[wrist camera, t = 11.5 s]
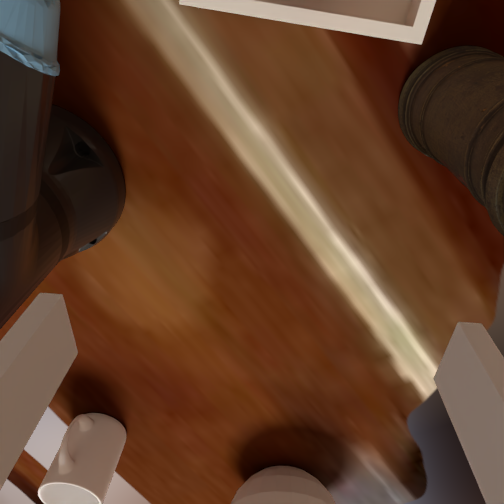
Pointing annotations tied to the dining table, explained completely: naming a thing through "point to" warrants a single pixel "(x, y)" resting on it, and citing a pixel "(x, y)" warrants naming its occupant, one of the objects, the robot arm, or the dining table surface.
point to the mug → (84, 461)
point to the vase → (282, 488)
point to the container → (461, 119)
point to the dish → (338, 14)
